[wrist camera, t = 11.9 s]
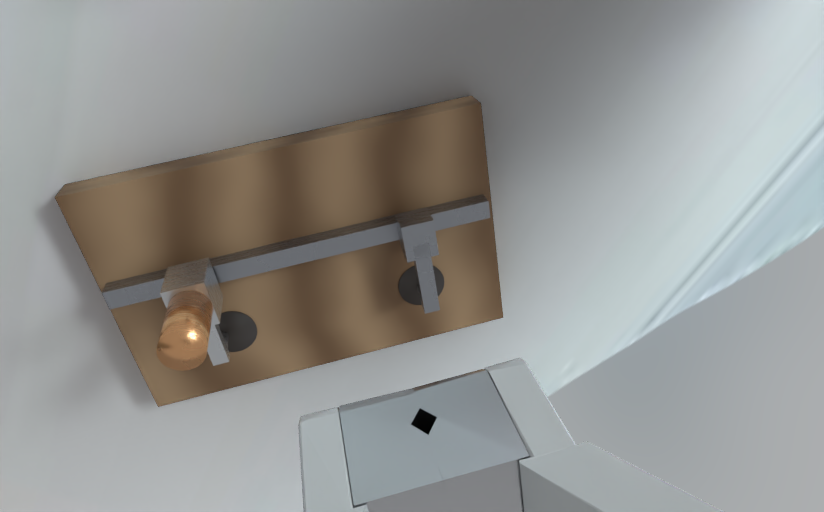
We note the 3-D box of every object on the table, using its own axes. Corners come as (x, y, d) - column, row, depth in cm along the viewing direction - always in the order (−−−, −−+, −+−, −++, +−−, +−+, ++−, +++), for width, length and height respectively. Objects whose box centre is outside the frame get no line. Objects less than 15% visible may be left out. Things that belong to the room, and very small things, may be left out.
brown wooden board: (471, 95, 39) (481, 103, 37) (494, 303, 46) (503, 318, 45) (64, 184, 36) (54, 198, 34) (162, 388, 44) (157, 407, 42)
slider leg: (210, 248, 37) (196, 323, 30) (242, 336, 41) (237, 422, 33) (170, 257, 37) (147, 335, 30) (206, 345, 40) (193, 433, 33)
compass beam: (481, 185, 39) (498, 204, 37) (491, 271, 43) (506, 295, 40) (102, 274, 37) (88, 302, 34) (142, 358, 40) (133, 390, 37)
